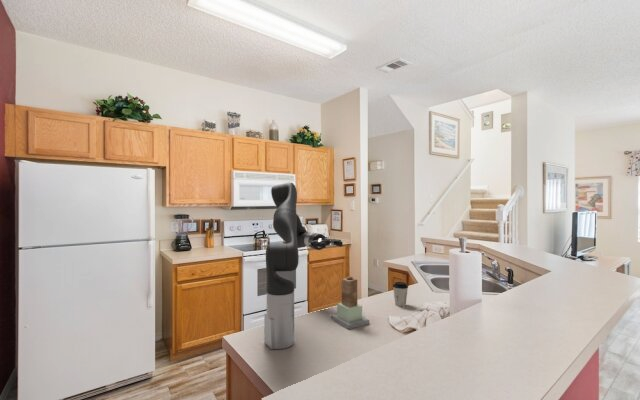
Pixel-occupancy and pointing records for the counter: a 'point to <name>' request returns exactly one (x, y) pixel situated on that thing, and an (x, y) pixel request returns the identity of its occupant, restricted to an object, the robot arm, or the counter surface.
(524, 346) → the counter surface
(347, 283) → the walnut pillar block
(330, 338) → the counter surface
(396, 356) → the counter surface
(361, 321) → the foundation
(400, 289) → the coffee cup
